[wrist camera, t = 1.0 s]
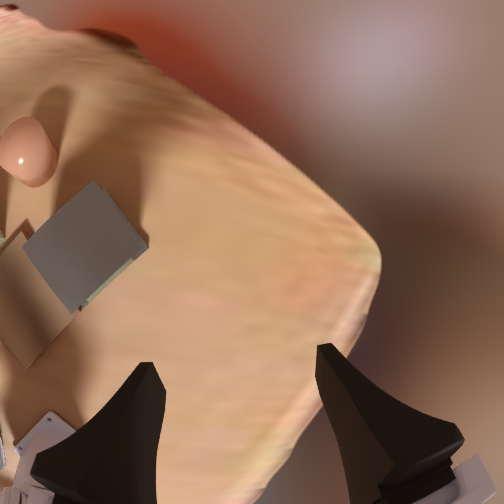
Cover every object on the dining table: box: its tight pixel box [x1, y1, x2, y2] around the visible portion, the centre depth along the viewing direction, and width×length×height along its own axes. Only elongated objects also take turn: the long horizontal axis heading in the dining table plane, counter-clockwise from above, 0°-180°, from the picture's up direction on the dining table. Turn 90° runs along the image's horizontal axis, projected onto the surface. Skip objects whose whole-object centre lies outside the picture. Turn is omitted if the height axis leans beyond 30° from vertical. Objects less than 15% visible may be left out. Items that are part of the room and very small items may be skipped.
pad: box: [0, 231, 82, 370], centre depth 15 cm, size 8×8×1 cm
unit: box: [22, 179, 149, 314], centre depth 16 cm, size 7×6×6 cm
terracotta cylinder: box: [0, 117, 58, 187], centre depth 14 cm, size 4×4×5 cm
